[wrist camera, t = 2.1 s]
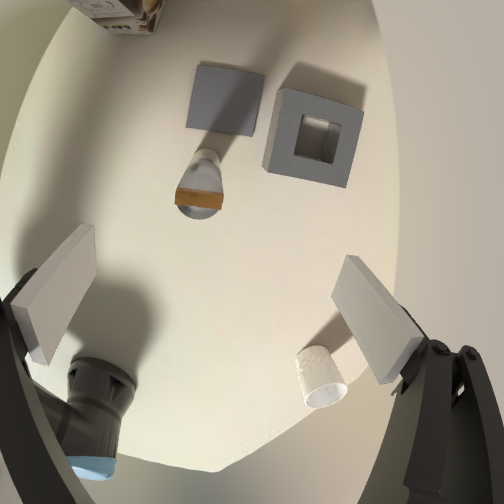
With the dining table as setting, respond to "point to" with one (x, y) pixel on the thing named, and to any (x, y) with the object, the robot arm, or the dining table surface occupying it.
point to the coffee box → (123, 14)
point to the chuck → (336, 144)
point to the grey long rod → (201, 186)
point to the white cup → (319, 377)
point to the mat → (224, 100)
